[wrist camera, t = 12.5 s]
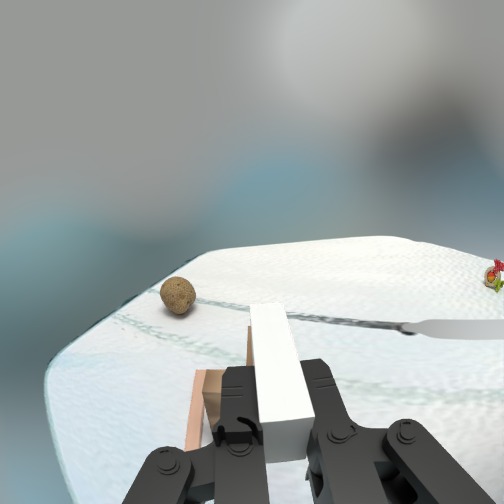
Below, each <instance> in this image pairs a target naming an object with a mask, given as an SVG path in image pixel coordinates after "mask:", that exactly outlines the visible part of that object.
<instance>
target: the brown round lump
mask: <svg viewBox="0 0 504 504" xmlns="http://www.w3.org/2000/svg"><path fill="white" fill-rule="evenodd" d="M160 296H161V299H162V300H163V302H164V304H165V305H166V307H167V308H168V309H169V310H171V311H172V312H174V313H176V314H182V313H184V312H186V311H187V309H188V308H189V306H190V305H191V304H193V302H194V301H195V298H196V293H195V290H194V288H193V286H192V285H191V284H190V282H189V281H188V280H186V279H184V278H182V277H172V278H169V279H168V280H166V281H165V282H164V284H163V285H162V287H161V290H160Z"/></svg>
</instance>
